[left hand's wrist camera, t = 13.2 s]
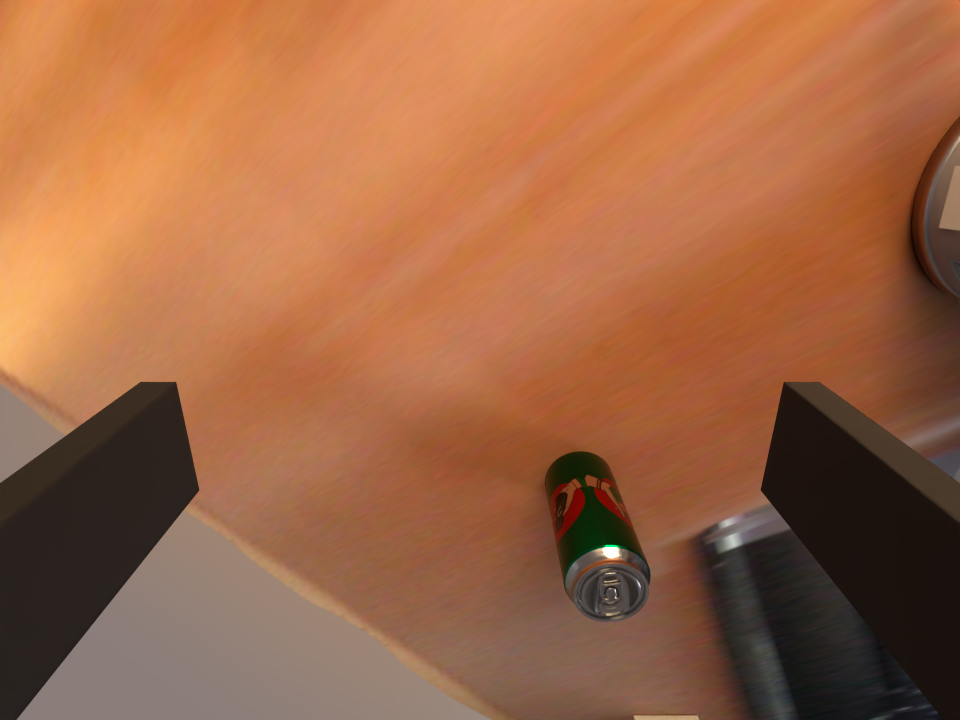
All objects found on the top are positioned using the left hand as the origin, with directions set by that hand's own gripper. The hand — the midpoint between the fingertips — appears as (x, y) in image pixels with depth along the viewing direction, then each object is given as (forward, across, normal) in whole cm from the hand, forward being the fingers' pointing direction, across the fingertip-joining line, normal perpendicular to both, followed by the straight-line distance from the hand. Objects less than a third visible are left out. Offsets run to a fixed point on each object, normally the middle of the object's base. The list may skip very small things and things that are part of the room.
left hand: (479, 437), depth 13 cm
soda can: (+26, +7, -18) cm, 33 cm away
